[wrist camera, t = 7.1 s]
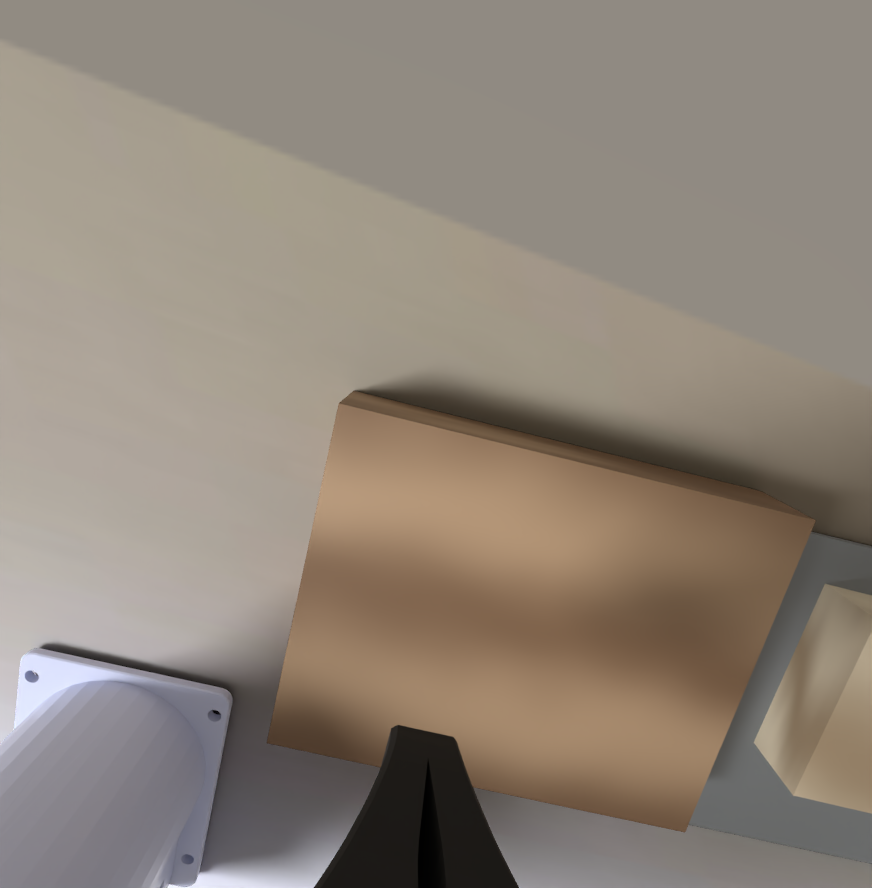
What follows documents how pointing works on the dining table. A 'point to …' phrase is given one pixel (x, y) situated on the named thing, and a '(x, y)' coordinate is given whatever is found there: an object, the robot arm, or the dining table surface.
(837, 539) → the rubber mat
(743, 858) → the dining table surface
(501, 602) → the block
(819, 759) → the ash block
